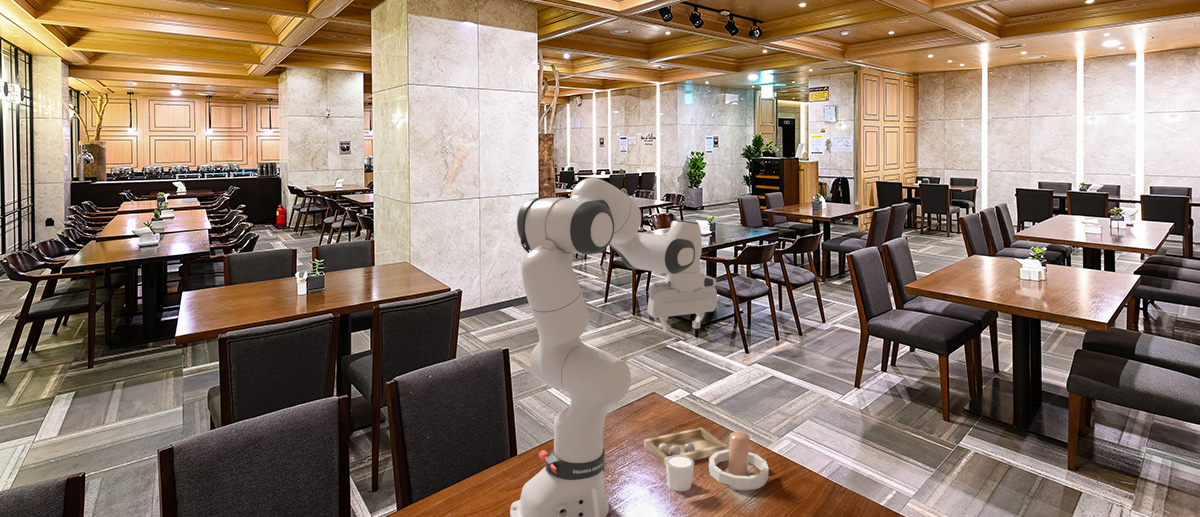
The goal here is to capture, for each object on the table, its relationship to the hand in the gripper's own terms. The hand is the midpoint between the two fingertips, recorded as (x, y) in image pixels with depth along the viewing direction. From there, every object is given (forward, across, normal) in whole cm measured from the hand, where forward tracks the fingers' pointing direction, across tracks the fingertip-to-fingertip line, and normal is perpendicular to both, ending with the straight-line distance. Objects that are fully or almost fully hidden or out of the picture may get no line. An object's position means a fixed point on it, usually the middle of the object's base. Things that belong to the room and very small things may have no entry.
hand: (681, 329), depth 167 cm
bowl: (+33, +5, -21) cm, 39 cm away
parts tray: (+33, -1, -5) cm, 34 cm away
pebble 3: (+31, 0, -8) cm, 32 cm away
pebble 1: (+32, -8, -5) cm, 34 cm away
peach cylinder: (+32, +5, -21) cm, 39 cm away
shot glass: (+33, -12, -20) cm, 41 cm away
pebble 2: (+31, -6, -6) cm, 32 cm away
